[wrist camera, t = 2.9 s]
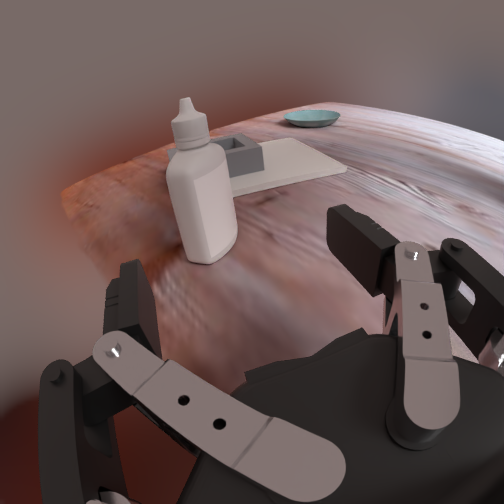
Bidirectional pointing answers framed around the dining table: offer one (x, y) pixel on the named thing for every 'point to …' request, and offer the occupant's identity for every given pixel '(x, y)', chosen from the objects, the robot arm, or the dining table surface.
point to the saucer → (312, 118)
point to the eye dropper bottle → (200, 189)
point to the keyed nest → (271, 163)
